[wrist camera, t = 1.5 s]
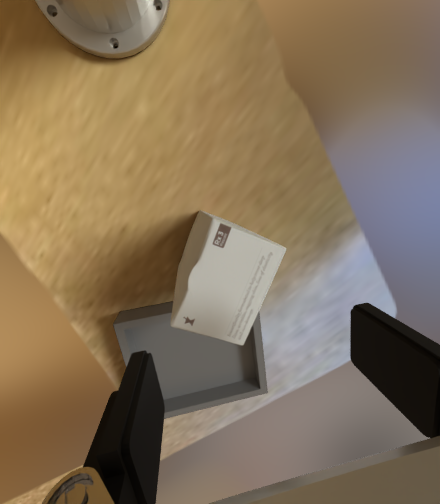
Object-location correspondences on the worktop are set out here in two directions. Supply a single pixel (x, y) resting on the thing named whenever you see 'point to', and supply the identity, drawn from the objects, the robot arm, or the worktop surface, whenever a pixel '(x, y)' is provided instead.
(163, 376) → the tray
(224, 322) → the skincare box
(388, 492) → the robot arm
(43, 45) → the worktop surface
